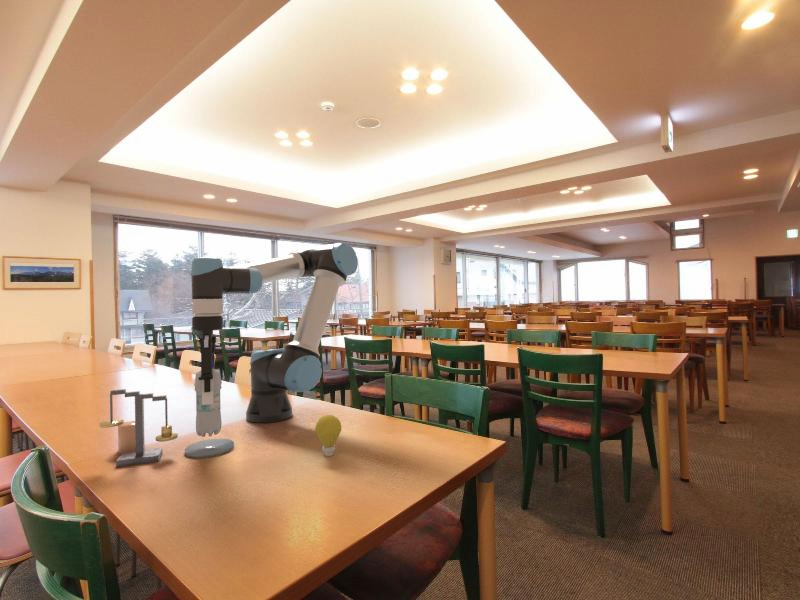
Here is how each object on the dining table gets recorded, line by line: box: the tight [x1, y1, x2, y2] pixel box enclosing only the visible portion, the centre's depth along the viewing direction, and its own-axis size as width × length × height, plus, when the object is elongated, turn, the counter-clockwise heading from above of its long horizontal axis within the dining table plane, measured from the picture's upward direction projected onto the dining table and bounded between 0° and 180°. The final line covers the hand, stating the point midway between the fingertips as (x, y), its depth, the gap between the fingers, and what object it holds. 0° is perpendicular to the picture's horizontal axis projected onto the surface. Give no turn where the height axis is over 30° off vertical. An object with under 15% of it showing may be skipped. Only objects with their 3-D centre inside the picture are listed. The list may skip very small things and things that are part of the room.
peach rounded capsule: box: [117, 420, 136, 454], centre depth 114 cm, size 6×6×7 cm
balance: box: [98, 388, 179, 468], centre depth 106 cm, size 17×6×18 cm, turn 111°
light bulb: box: [314, 414, 342, 457], centre depth 108 cm, size 7×7×10 cm
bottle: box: [194, 361, 223, 438], centre depth 113 cm, size 7×7×20 cm
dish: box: [184, 438, 235, 459], centre depth 113 cm, size 12×12×1 cm
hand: (208, 400), depth 113 cm, fingers closed on bottle, 7 cm apart
